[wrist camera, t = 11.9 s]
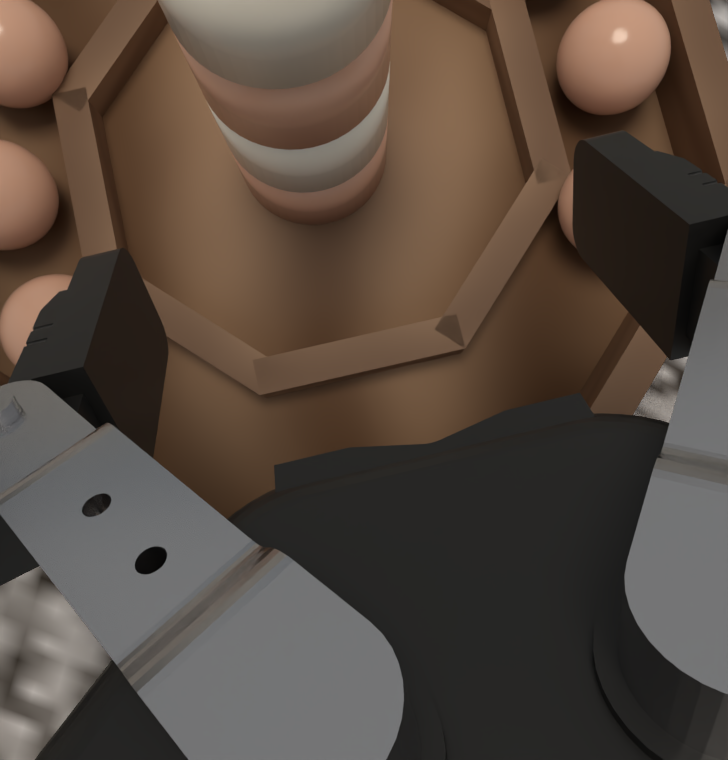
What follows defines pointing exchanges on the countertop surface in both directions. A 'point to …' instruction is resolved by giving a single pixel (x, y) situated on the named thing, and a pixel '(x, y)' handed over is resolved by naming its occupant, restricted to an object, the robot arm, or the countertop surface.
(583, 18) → the seated beads
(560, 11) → the bead tray
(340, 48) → the bead stack
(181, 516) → the robot arm
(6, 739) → the countertop surface
